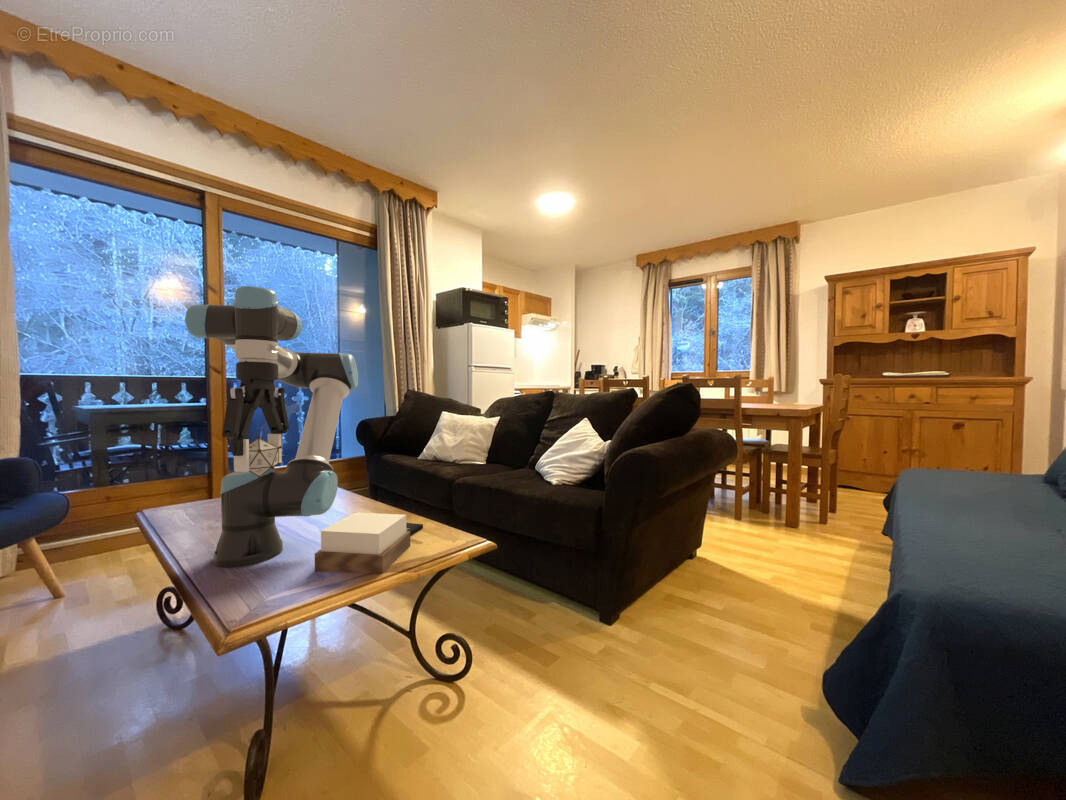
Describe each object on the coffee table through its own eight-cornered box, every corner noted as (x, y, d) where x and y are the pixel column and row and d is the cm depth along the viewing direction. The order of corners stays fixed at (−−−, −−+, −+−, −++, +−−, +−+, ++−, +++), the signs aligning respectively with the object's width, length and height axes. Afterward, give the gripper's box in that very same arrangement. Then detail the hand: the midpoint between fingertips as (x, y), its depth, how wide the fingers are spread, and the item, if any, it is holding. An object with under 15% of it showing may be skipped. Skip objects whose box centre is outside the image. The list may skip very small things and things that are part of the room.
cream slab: (321, 551, 101) (320, 530, 100) (355, 530, 115) (355, 512, 115) (379, 554, 99) (379, 533, 98) (406, 532, 113) (406, 514, 113)
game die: (265, 485, 84) (264, 436, 84) (224, 485, 84) (223, 436, 84) (291, 476, 93) (290, 431, 93) (254, 475, 93) (253, 431, 93)
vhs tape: (373, 545, 117) (373, 538, 117) (401, 528, 131) (401, 522, 131) (397, 547, 116) (397, 540, 116) (423, 530, 130) (423, 524, 129)
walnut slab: (314, 574, 99) (314, 553, 99) (351, 546, 116) (351, 529, 116) (383, 577, 98) (382, 556, 98) (410, 549, 115) (410, 531, 115)
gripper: (233, 358, 77) (235, 478, 78) (306, 364, 98) (307, 458, 99) (195, 358, 77) (198, 477, 78) (276, 364, 99) (277, 457, 100)
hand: (259, 466), depth 89 cm, fingers closed on game die, 9 cm apart
